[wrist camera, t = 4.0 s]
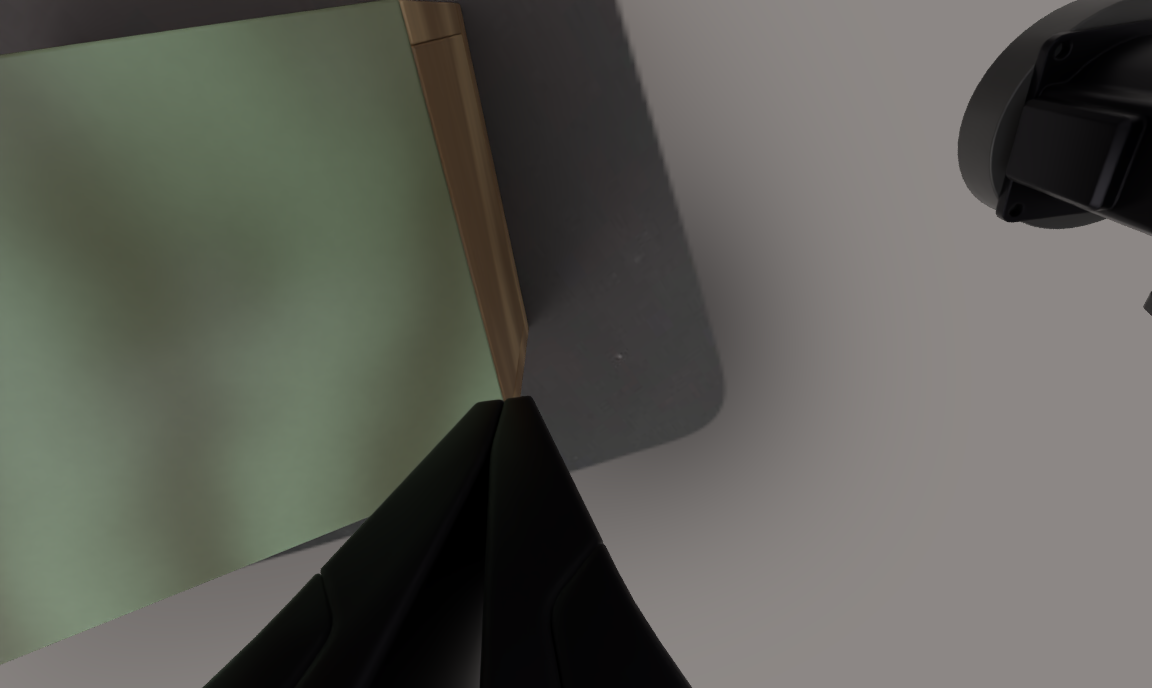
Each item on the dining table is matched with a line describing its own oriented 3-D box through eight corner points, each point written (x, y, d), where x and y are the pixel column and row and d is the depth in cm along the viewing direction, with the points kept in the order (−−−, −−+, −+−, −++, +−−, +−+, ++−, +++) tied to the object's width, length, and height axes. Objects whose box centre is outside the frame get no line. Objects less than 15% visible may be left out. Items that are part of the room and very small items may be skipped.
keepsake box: (217, 368, 23) (103, 486, 18) (43, 71, 17) (-218, 102, 12) (529, 329, 23) (515, 439, 17) (459, 2, 17) (401, -1, 11)
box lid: (-67, 668, 13) (-87, 700, 12) (-770, 168, 7) (-884, 180, 6) (510, 441, 17) (518, 457, 16) (393, 0, 11) (398, -3, 10)
